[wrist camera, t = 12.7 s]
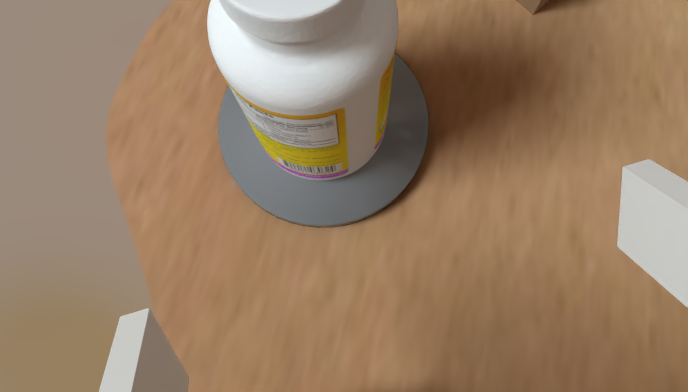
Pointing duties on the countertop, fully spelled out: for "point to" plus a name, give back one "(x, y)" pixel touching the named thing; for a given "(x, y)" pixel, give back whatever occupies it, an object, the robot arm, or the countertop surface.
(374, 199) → the slate coaster
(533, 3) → the walnut block
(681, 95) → the countertop surface
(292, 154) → the supplement bottle
